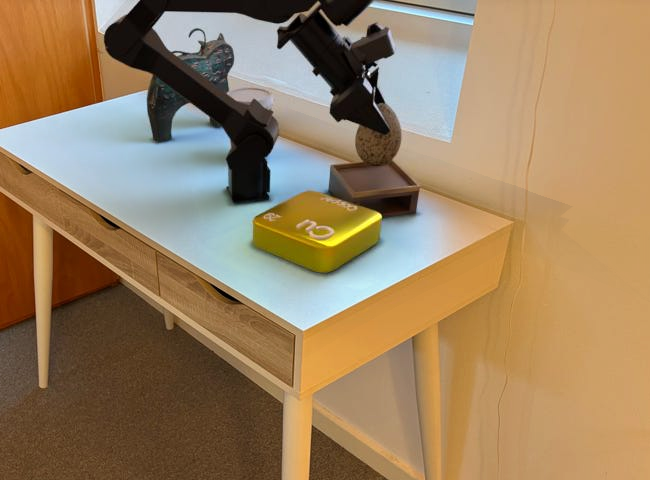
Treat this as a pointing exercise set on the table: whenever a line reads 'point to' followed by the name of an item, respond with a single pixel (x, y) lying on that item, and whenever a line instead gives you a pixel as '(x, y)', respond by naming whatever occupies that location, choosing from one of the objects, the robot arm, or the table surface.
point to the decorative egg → (379, 140)
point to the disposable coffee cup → (252, 97)
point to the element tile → (316, 230)
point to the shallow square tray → (375, 187)
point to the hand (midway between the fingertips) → (389, 125)
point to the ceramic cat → (166, 102)
